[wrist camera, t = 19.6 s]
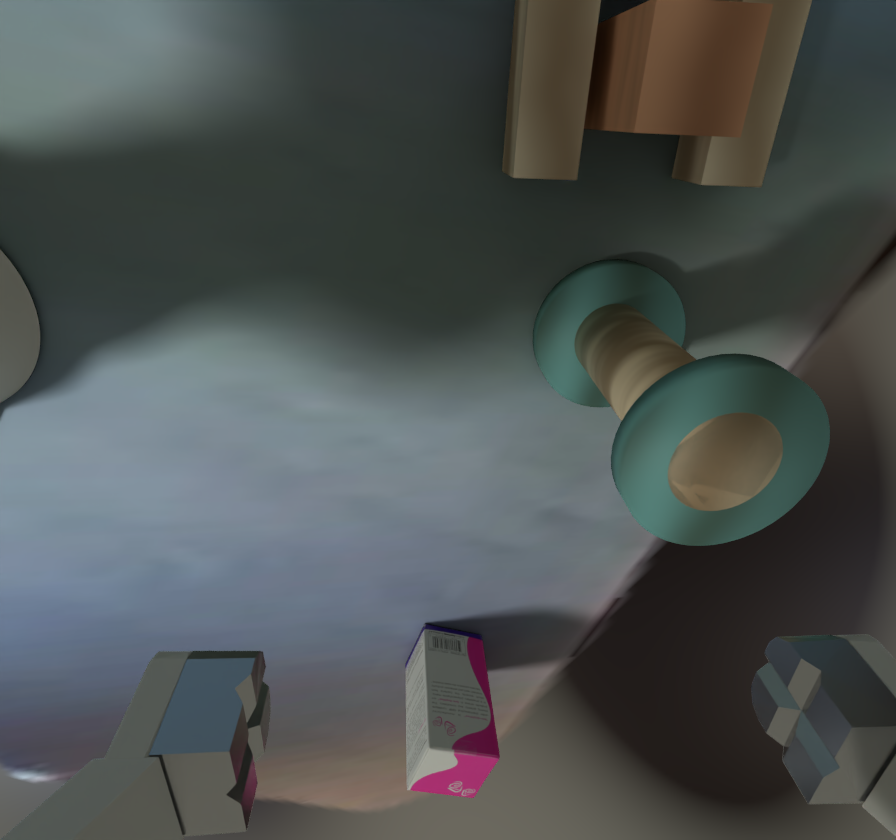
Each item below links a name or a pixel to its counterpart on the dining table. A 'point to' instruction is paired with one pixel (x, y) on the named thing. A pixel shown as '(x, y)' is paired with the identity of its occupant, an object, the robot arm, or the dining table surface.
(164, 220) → the dining table surface
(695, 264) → the dining table surface
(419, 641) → the supplement box
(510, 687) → the dining table surface
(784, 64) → the notched board
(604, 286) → the bobbin
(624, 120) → the wooden block
